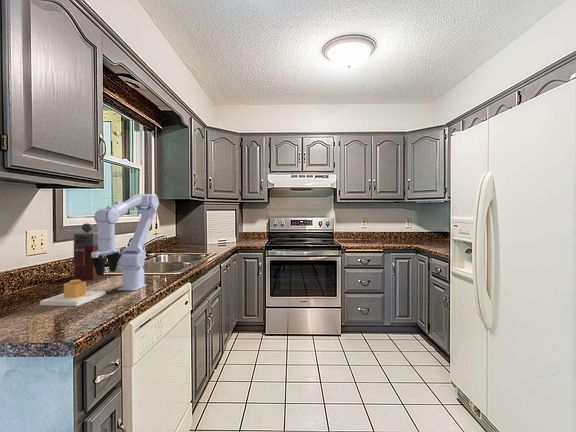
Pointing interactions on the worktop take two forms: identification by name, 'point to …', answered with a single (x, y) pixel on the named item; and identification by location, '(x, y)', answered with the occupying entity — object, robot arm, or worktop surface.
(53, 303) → the plate
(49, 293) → the worktop surface
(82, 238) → the glass decanter
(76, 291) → the orange cube with dome
